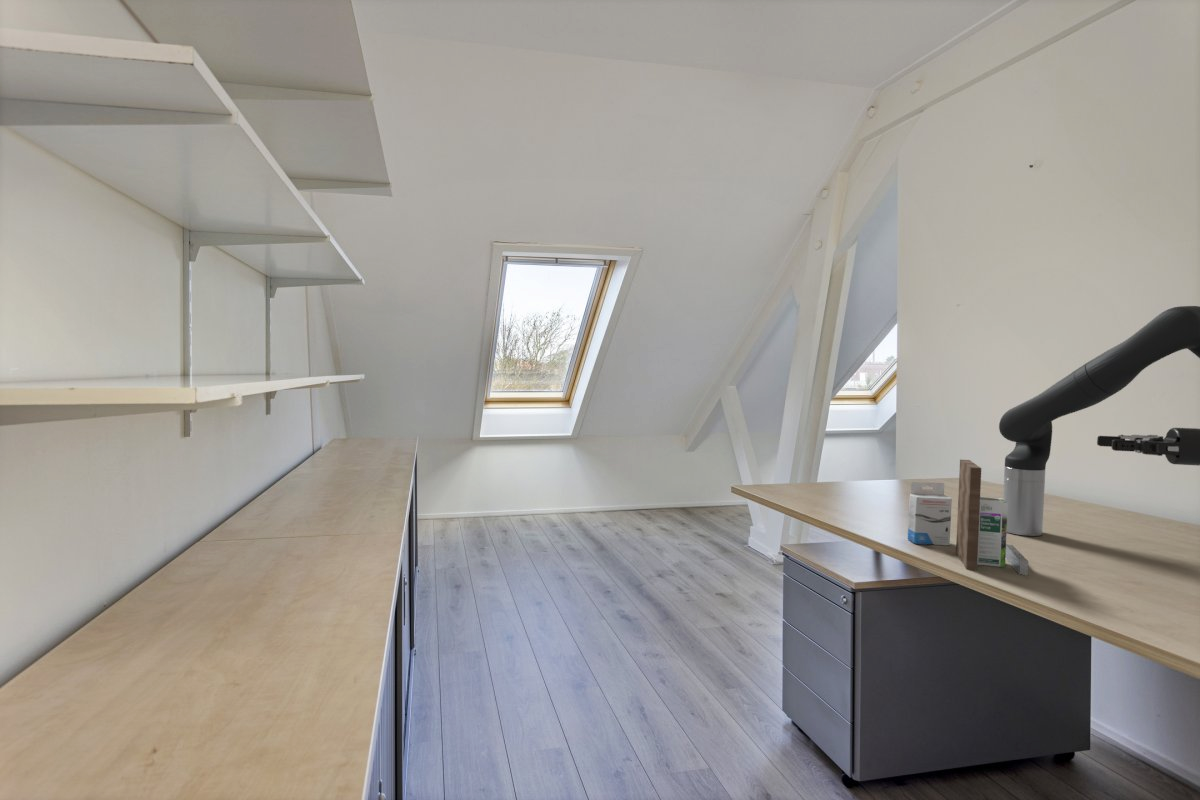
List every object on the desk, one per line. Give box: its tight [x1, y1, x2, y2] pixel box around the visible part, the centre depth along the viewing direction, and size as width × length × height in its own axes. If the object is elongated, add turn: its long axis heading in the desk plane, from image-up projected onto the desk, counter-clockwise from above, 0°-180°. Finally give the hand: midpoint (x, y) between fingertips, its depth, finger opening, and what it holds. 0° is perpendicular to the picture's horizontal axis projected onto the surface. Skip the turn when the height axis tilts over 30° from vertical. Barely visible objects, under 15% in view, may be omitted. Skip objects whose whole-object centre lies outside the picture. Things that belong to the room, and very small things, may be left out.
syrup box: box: [977, 496, 1008, 568], centre depth 154 cm, size 6×6×14 cm
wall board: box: [955, 459, 1029, 576], centre depth 153 cm, size 14×12×22 cm
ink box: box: [907, 481, 953, 546], centre depth 171 cm, size 9×5×15 cm, turn 84°
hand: (1104, 442), depth 146 cm, fingers open, 8 cm apart
